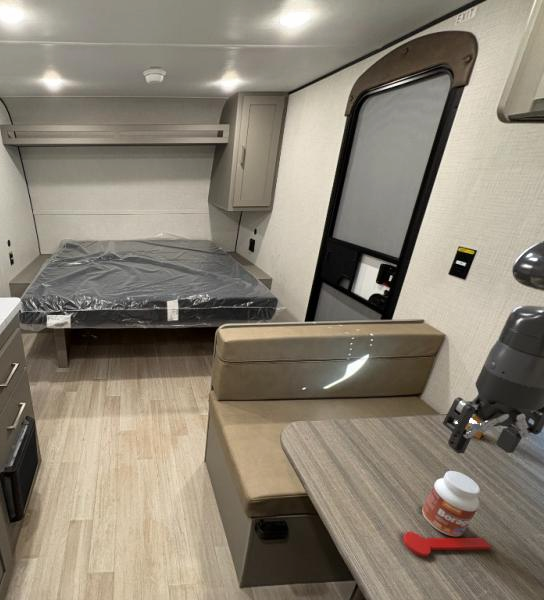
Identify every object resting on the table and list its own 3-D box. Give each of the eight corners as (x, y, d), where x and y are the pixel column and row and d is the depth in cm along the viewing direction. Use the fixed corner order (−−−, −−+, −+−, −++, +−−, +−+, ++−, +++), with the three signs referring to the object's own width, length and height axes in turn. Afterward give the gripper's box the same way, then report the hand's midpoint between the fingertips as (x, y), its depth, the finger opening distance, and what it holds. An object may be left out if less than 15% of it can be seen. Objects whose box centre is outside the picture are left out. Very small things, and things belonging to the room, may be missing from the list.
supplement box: (481, 440, 81) (497, 409, 78) (463, 432, 84) (477, 401, 80) (482, 433, 84) (498, 402, 80) (464, 426, 86) (479, 396, 82)
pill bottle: (428, 530, 61) (448, 490, 57) (416, 502, 66) (434, 463, 62) (469, 543, 59) (494, 502, 55) (454, 512, 64) (475, 473, 60)
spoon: (476, 534, 60) (477, 531, 60) (496, 556, 57) (498, 553, 56) (398, 534, 60) (399, 531, 60) (414, 556, 57) (415, 554, 56)
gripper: (498, 387, 46) (459, 468, 52) (595, 385, 46) (545, 467, 52) (451, 359, 53) (421, 433, 59) (536, 358, 53) (497, 432, 59)
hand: (479, 449), depth 56 cm, fingers open, 8 cm apart
